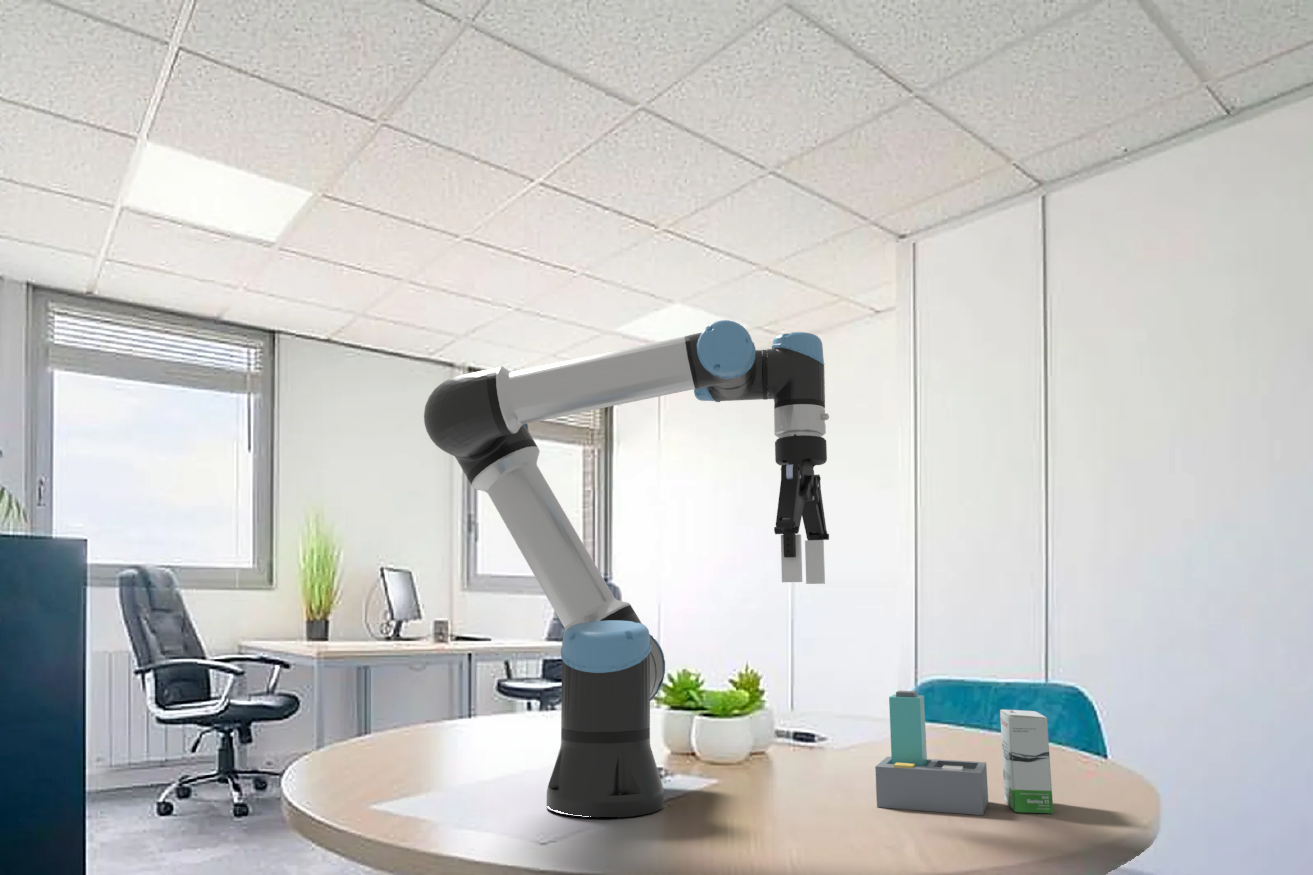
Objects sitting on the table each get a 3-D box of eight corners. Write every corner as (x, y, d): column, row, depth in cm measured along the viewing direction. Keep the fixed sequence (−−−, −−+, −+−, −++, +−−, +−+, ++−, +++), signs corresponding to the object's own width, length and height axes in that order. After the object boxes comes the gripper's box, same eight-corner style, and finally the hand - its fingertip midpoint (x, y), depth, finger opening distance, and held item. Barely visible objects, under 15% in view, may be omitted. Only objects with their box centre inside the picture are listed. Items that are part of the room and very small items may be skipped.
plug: (893, 799, 129) (888, 692, 131) (898, 793, 133) (893, 690, 135) (924, 801, 128) (919, 693, 130) (928, 795, 131) (923, 690, 133)
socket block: (876, 807, 126) (875, 764, 127) (888, 794, 135) (887, 754, 136) (982, 815, 122) (980, 770, 122) (988, 801, 130) (986, 759, 131)
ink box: (1055, 815, 122) (1048, 715, 124) (1013, 813, 123) (1007, 715, 125) (1042, 801, 130) (1036, 708, 132) (1003, 799, 131) (998, 708, 133)
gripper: (804, 421, 132) (808, 581, 129) (843, 448, 155) (848, 584, 151) (750, 425, 135) (753, 581, 132) (797, 450, 158) (800, 584, 154)
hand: (804, 583), depth 142 cm, fingers open, 13 cm apart
